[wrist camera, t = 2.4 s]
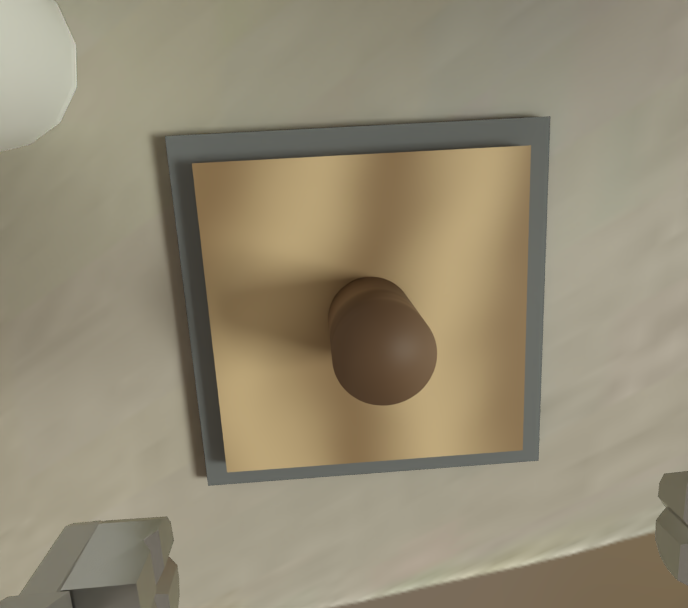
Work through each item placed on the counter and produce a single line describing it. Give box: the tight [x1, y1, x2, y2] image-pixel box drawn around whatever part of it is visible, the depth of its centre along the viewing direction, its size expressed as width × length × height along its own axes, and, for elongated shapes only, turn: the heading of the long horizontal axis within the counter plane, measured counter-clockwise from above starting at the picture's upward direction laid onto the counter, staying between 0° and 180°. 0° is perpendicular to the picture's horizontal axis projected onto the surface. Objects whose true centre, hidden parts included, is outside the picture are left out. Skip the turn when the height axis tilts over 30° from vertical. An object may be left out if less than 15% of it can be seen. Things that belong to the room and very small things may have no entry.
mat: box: [165, 116, 550, 486], centre depth 22 cm, size 14×14×1 cm
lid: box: [192, 145, 531, 472], centre depth 20 cm, size 12×12×5 cm
